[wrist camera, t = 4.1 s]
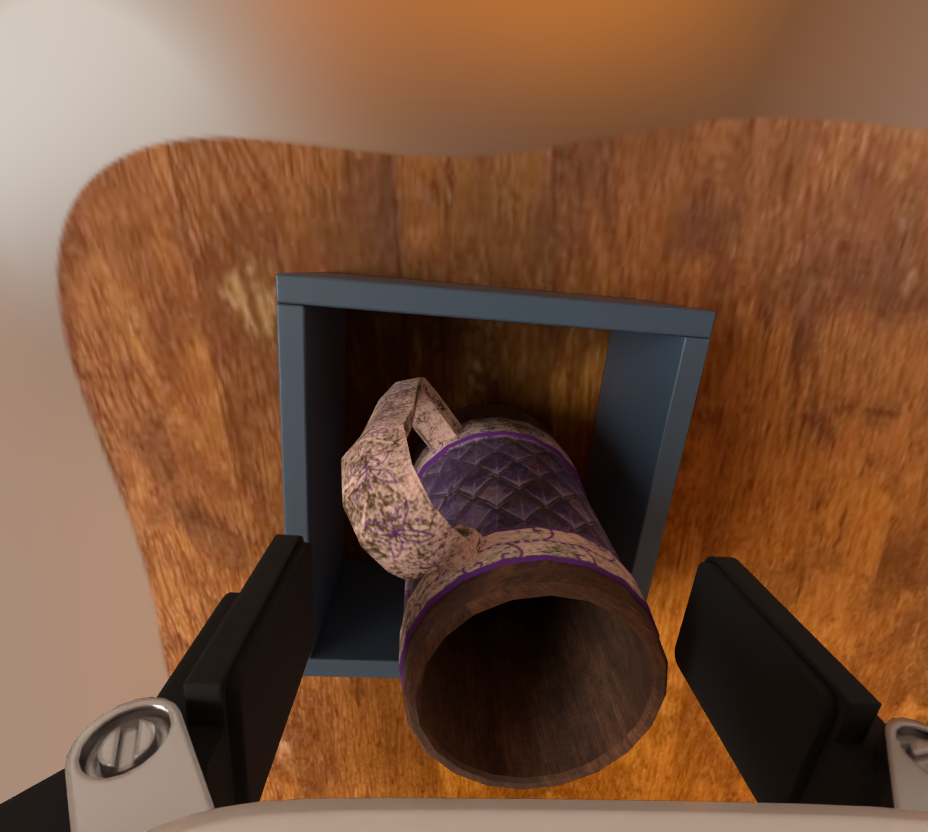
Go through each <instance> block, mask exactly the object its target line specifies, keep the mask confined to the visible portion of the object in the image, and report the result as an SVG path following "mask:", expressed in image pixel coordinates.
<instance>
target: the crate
mask: <svg viewBox="0 0 928 832" xmlns="http://www.w3.org/2000/svg"><path fill="white" fill-rule="evenodd" d="M276 300H277V302H278V303H279V304H277V332H278V360H279V388H280V416H281V444H282V472H283V500H284V528H285V535H300V536H303V539H304V542H310V543H311V545H312V589H313V643H312V649H311V652H310V656H309V658H308V661H307V664H306V667H305V670H304V673H303V676H330V677H371V678H401V676H400V671H399V646H400V630H401V626H402V621H403V617H404V597H405V580H404V579H402V578H400V577H398V576H396V575H393V574H391V573H389V572H388V571H387V570H385V569H384V568H383V567H382V566H381V565H380V564H379V563H378V562H377V561H356V560H344V507H343V496H342V467H341V459H342V457H343V456H344V455H345V377H346V309H356V310H368V311H380V312H392V313H405V314H417V315H429V316H441V317H453V318H466V319H478V320H490V321H502V322H514V323H526V324H539V325H551V326H563V327H575V328H587V329H599V330H611V333H610V339H609V345H608V350H607V356H606V361H605V367H604V372H603V378H602V383H601V389H600V395H599V400H598V406H597V411H596V417H595V422H594V428H593V434H592V439H591V445H590V450H589V456H588V461H587V467H586V472H585V478H584V484H583V487H584V490H585V493H586V495H587V500H588V502H589V504H590V506H591V508H592V509H593V511H594V513H595V515H596V517H597V519H598V520H599V522H600V524H601V526H602V528H603V529H604V531H605V533H606V535H607V537H608V539H609V540H610V542H611V544H612V546H613V548H614V550H615V551H616V553H617V555H618V557H619V559H620V561H621V562H622V564H623V566H624V567H625V568H626V569H627V570H628V571H629V572H630V573H631V574H632V576H633V578H634V580H635V582H636V583H637V585H638V587H639V589H640V591H641V593H642V595H643V597H644V598H645V600H647V596H648V592H649V588H650V584H651V580H652V576H653V572H654V568H655V564H656V560H657V556H658V552H659V547H660V543H661V539H662V535H663V531H664V527H665V523H666V519H667V515H668V511H669V507H670V503H671V499H672V495H673V490H674V486H675V482H676V478H677V474H678V470H679V466H680V462H681V458H682V454H683V450H684V446H685V442H686V437H687V433H688V429H689V425H690V421H691V417H692V413H693V409H694V405H695V401H696V397H697V393H698V389H699V384H700V380H701V376H702V372H703V368H704V364H705V360H706V356H707V352H708V348H709V344H710V339H708V338H710V336H711V333H712V329H713V325H714V321H715V317H716V312H714V311H710V310H704V309H697V308H691V307H684V306H678V305H672V304H665V303H659V302H652V301H646V300H639V299H632V298H620V297H609V296H597V295H586V294H575V293H563V292H552V291H540V290H529V289H518V288H506V287H495V286H483V285H472V284H461V283H449V282H438V281H426V280H415V279H404V278H392V277H381V276H369V275H358V274H347V273H335V272H306V273H278V274H276Z"/></svg>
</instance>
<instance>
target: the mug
mask: <svg viewBox="0 0 928 832" xmlns="http://www.w3.org/2000/svg"><path fill="white" fill-rule="evenodd" d="M412 427H413V428H414V430H415V431H416V432H417V433H418V434H419V436H420V437H421V438H422V440H421V442H420V443H419V445H418V447H417V448H416V450H415V452H414V456H413V461H412V462H411V457H410V453H409V448H408V444H407V437H408V435H409V433H410V430H411V428H412ZM341 467H342V496H343V507H344V509H345V511H346V514H347V516H348V518H349V520H350V523H351V525H352V527H353V529H354V532H355V534H356V536H357V538H358V541H359V543H360V545H361V547H362V548H363V549H364V550H365V551H366V552H367V553H368V554H370V555H371V556H372V557H373V558H374V559H375V560H376V561H377V562H378V563H379V564H380V565H381V566H382V567H383V568H384V569H385V570H387V571H388V572H389V573H391V574H393V575H396V576H398V577H400V578H402V579H404V580H405V597H404V617H403V621H402V626H401V630H400V646H399V671H400V676H401V682H402V688H403V698H404V703H405V709H406V714H407V720H408V725H409V727H410V728H411V730H412V731H413V733H414V735H415V736H416V738H417V739H418V741H419V742H420V744H421V745H422V747H423V748H424V750H425V751H426V752H427V753H428V754H429V755H431V756H432V757H433V758H435V759H436V760H437V761H439V762H440V763H441V764H443V765H444V766H445V767H447V768H448V769H449V770H451V771H452V772H453V773H455V774H457V775H460V776H463V777H466V778H468V779H471V780H474V781H477V782H479V783H482V784H485V785H487V786H496V787H505V788H515V789H532V788H540V787H548V786H556V785H563V784H565V783H568V782H571V781H574V780H577V779H579V778H582V777H585V776H588V775H591V774H593V773H596V772H598V771H600V770H601V769H603V768H604V767H606V766H607V765H609V764H610V763H612V762H614V761H615V760H617V759H618V758H620V757H621V756H623V755H624V754H626V753H627V752H628V751H629V750H630V749H631V748H632V747H633V746H634V745H635V744H636V743H637V741H638V740H639V739H640V738H641V737H642V736H643V735H644V734H645V733H646V731H647V730H648V729H649V728H650V727H651V726H652V724H653V722H654V720H655V717H656V715H657V713H658V711H659V709H660V706H661V704H662V702H663V700H664V698H665V695H666V687H667V669H668V661H667V658H666V656H665V653H664V650H663V647H662V645H661V642H660V639H659V633H658V630H657V628H656V625H655V622H654V620H653V617H652V614H651V612H650V609H649V606H648V604H647V602H646V600H645V598H644V597H643V595H642V593H641V591H640V589H639V587H638V585H637V583H636V582H635V580H634V578H633V576H632V574H631V573H630V572H629V571H628V570H627V569H626V568H625V567H624V566H623V564H622V562H621V561H620V559H619V557H618V555H617V553H616V551H615V550H614V548H613V546H612V544H611V542H610V540H609V539H608V537H607V535H606V533H605V531H604V529H603V528H602V526H601V524H600V522H599V520H598V519H597V517H596V515H595V513H594V511H593V509H592V508H591V506H590V504H589V502H588V500H587V495H586V493H585V490H584V487H583V485H582V482H581V480H580V477H579V475H578V472H577V470H576V468H575V467H574V465H573V463H572V461H571V460H570V458H569V456H568V455H567V453H566V452H565V451H564V450H563V449H562V448H561V447H560V446H559V444H558V443H557V442H556V441H555V440H554V438H553V437H552V435H551V434H550V433H549V432H548V431H547V430H546V429H545V428H544V426H543V425H542V424H541V423H540V422H539V421H538V420H537V419H535V418H533V417H532V416H530V415H528V414H526V413H525V412H523V411H521V410H519V409H518V408H513V407H508V406H503V405H498V404H493V403H492V404H482V405H473V406H467V407H464V408H462V409H460V410H457V411H455V412H453V413H452V412H451V411H450V409H449V408H448V406H447V405H446V404H445V402H444V401H443V400H442V398H441V397H440V395H439V394H438V393H437V392H436V390H435V389H434V388H433V387H432V386H431V384H430V383H429V382H428V381H427V380H426V379H425V378H422V377H419V378H414V379H408V380H403V381H398V382H395V383H394V384H393V385H392V386H391V388H390V389H389V390H388V391H387V392H386V393H385V394H384V395H383V396H382V397H381V398H380V399H379V401H378V403H377V405H376V407H375V409H374V411H373V413H372V415H371V417H370V419H369V421H368V423H367V425H366V427H365V429H364V431H363V433H362V435H361V436H360V437H359V439H358V440H357V441H356V442H355V443H354V444H353V446H352V447H351V448H350V449H349V450H348V451H347V453H346V454H345V455H344V456H343V457H342V459H341Z"/></svg>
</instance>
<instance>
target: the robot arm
mask: <svg viewBox="0 0 928 832" xmlns="http://www.w3.org/2000/svg"><path fill="white" fill-rule="evenodd" d="M312 643H313V589H312V545H311V543H310V542H304V539H303V536H300V535H280V534H278V535H276V536H275V537H274V539H273V540H272V542H271V544H270V545H269V547H268V548H267V550H266V552H265V553H264V555H263V556H262V558H261V560H260V561H259V563H258V564H257V566H256V568H255V569H254V571H253V572H252V574H251V576H250V577H249V579H248V580H247V582H246V584H245V585H244V587H243V589H242V590H241V592H240V593H233V592H230V593H228V594H226V595H225V596H224V597H223V599H222V600H221V601H220V603H219V604H218V606H217V607H216V609H215V610H214V612H213V613H212V615H211V616H210V618H209V619H208V621H207V622H206V624H205V625H204V627H203V628H202V630H201V631H200V633H199V634H198V636H197V637H196V639H195V640H194V642H193V643H192V645H191V646H190V648H189V649H188V651H187V652H186V654H185V655H184V657H183V658H182V660H181V661H180V663H179V664H178V666H177V667H176V669H175V670H174V672H173V673H172V675H171V676H170V678H169V679H168V681H167V682H166V684H165V685H164V687H163V688H162V690H161V692H160V693H159V695H158V696H157V697H148V698H141V699H135V700H133V701H130V702H127V703H124V704H121V705H119V706H117V707H115V708H113V709H112V710H110V711H108V712H106V713H105V714H103V715H101V716H100V717H99V718H98V719H97V720H95V721H94V722H93V723H92V724H90V725H89V726H88V727H87V728H86V729H85V730H84V731H83V732H82V733H81V735H80V736H79V737H78V738H77V739H76V740H75V741H74V743H73V745H72V747H71V749H70V751H69V753H68V755H67V759H66V765H65V769H63V770H61V771H59V772H57V773H56V774H54V775H52V776H50V777H48V778H47V779H45V780H43V781H41V782H39V783H38V784H36V785H34V786H32V787H30V788H29V789H27V790H25V791H23V792H22V793H20V794H18V795H16V796H14V797H12V798H11V799H9V800H7V801H5V802H3V803H2V804H0V832H928V725H927V724H924V723H922V722H919V721H916V720H912V719H907V718H892V719H891V720H889V721H888V722H886V724H885V723H884V722H883V721H882V720H881V719H880V718H879V717H878V716H877V713H878V711H879V709H880V707H881V705H882V704H881V703H880V702H879V701H878V700H877V699H876V698H875V697H874V696H873V695H872V694H871V693H870V692H869V691H868V690H867V689H866V688H865V687H864V686H863V685H862V684H861V683H860V682H859V681H858V680H857V679H856V678H855V677H854V676H853V675H852V674H851V673H850V672H849V671H848V670H847V669H846V668H845V667H844V666H843V665H842V664H841V663H840V662H839V661H838V660H837V659H836V658H835V657H834V656H833V655H832V654H831V653H830V652H829V651H828V650H827V649H826V648H825V647H824V646H823V645H822V644H821V643H820V642H819V641H818V640H817V639H816V638H815V637H814V636H813V635H812V634H811V633H810V632H809V631H808V630H807V629H806V628H805V627H804V626H803V625H802V624H801V623H800V622H799V621H798V620H797V619H796V618H795V617H794V616H793V615H792V614H791V613H790V612H789V611H788V610H787V609H786V608H785V607H784V606H783V605H782V604H781V603H780V602H779V601H778V600H777V599H776V598H775V597H774V596H773V595H772V594H771V593H770V592H769V591H768V590H767V589H766V588H765V587H764V586H763V585H762V584H761V583H760V582H759V581H758V580H757V579H756V578H755V577H754V576H753V575H752V574H751V573H750V572H749V571H748V570H747V569H746V568H745V567H744V566H743V565H742V564H741V563H740V562H739V561H738V560H737V559H735V558H732V557H714V556H710V557H708V558H707V559H706V560H705V562H702V563H700V564H699V566H698V569H697V573H696V576H695V580H694V583H693V587H692V590H691V594H690V597H689V601H688V604H687V608H686V611H685V615H684V618H683V622H682V625H681V629H680V632H679V636H678V639H677V643H676V646H675V659H676V663H677V665H678V667H679V669H680V670H681V672H682V674H683V676H684V677H685V679H686V681H687V682H688V684H689V686H690V688H691V689H692V691H693V693H694V694H695V696H696V698H697V700H698V701H699V703H700V705H701V706H702V708H703V710H704V712H705V713H706V715H707V717H708V718H709V720H710V722H711V724H712V725H713V727H714V729H715V730H716V732H717V734H718V736H719V737H720V739H721V741H722V742H723V744H724V746H725V748H726V749H727V751H728V753H729V754H730V756H731V758H732V760H733V761H734V763H735V765H736V766H737V768H738V770H739V772H740V773H741V775H742V777H743V778H744V780H745V782H746V784H747V785H748V787H749V789H750V790H751V792H752V794H753V795H754V797H755V799H756V801H757V802H758V803H745V802H698V801H639V800H570V799H474V798H336V799H294V800H278V801H262V802H259V801H260V798H261V795H262V792H263V789H264V786H265V783H266V780H267V777H268V775H269V772H270V769H271V766H272V763H273V760H274V757H275V754H276V751H277V748H278V746H279V743H280V740H281V737H282V734H283V731H284V728H285V725H286V722H287V719H288V717H289V714H290V711H291V708H292V705H293V702H294V699H295V696H296V693H297V690H298V687H299V685H300V682H301V679H302V676H303V673H304V670H305V667H306V664H307V661H308V658H309V656H310V652H311V649H312Z"/></svg>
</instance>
